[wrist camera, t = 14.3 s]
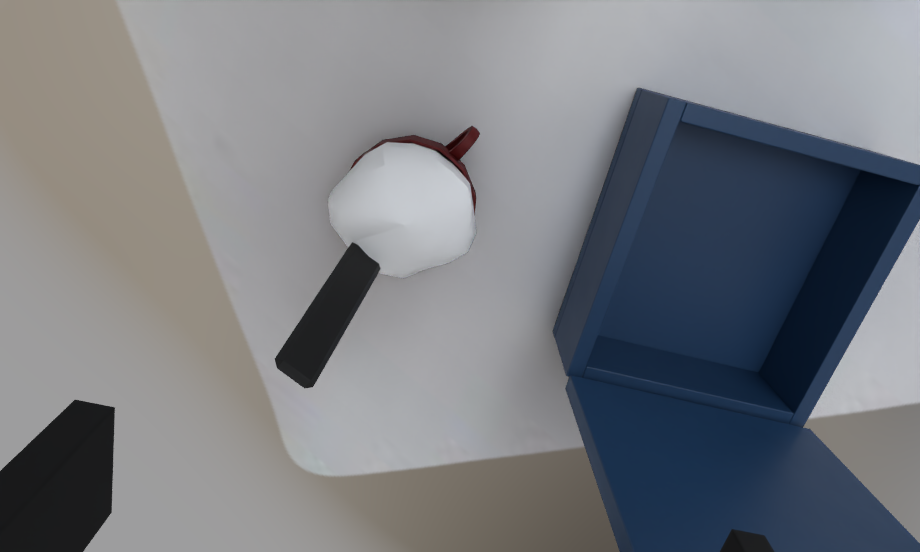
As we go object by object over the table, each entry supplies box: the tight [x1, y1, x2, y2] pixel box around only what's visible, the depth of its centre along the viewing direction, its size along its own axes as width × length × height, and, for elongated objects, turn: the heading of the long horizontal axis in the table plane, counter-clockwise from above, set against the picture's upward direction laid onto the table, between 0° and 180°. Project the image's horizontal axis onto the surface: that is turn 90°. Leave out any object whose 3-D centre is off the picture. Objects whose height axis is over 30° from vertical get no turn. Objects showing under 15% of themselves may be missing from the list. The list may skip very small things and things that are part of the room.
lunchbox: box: [553, 88, 920, 427], centre depth 30 cm, size 14×13×5 cm
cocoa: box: [275, 126, 480, 388], centre depth 25 cm, size 10×6×12 cm, turn 114°
